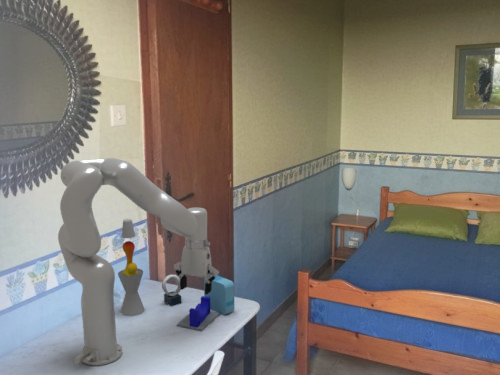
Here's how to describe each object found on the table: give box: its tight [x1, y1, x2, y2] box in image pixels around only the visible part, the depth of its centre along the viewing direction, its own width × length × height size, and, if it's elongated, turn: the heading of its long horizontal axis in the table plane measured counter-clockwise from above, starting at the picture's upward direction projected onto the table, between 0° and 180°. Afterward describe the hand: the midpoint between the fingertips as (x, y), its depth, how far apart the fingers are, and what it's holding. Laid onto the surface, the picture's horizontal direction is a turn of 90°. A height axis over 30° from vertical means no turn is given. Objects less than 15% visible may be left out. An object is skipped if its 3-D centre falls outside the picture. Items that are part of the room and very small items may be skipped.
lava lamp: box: [117, 218, 145, 317], centre depth 184 cm, size 9×9×35 cm
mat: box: [175, 310, 221, 332], centre depth 179 cm, size 14×10×1 cm
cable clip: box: [188, 295, 211, 327], centre depth 178 cm, size 12×4×6 cm, turn 163°
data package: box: [203, 274, 235, 316], centre depth 187 cm, size 12×4×12 cm, turn 45°
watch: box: [161, 273, 182, 307], centre depth 193 cm, size 6×8×11 cm
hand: (195, 290), depth 176 cm, fingers open, 9 cm apart
